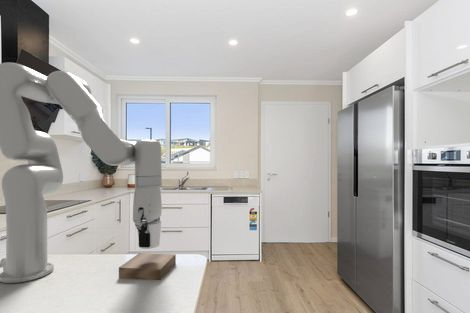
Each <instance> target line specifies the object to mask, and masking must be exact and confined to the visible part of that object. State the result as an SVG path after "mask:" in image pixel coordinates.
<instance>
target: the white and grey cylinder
mask: <svg viewBox="0 0 470 313" xmlns="http://www.w3.org/2000/svg"><path fill="white" fill-rule="evenodd" d="M142 222H146V220H142ZM142 225H144V226H145V228H146V224H142ZM161 228H162V221H161V219H160V220H154V221H152V222H150V224H149V233H150V247H139V248H140V249H143V250H146V249H148V250H149V249H155V248H158V247H159V246H160V244H161V243H160V242H161V231H162V230H161ZM137 236H138V237H137V238H139V233H138V232H137Z"/></svg>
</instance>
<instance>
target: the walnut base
mask: <svg viewBox="0 0 470 313" xmlns="http://www.w3.org/2000/svg"><path fill="white" fill-rule="evenodd" d="M176 256H177V255H176V254H175V253H172V254H171V253H147V252H145V253H144V252H143V253H142V252H141V253H140V252H138V253H137V254H136V255H135V256H133V257H132V258H130V259H129V260H127V261H126V262H124V263H123V264H122V265H120V266H119V267H118V279H121V280H137V281H138V280H140V281H141V280H142V281H162V280H163V279H164V277H165V276H166V275H168V273H169V272H170V271H171V270H172V269H173V267H175V265H176V264H177V263H176V262H177V261H176ZM171 268H172V269H171ZM170 269H171V270H170ZM169 270H170V271H169Z"/></svg>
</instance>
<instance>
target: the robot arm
mask: <svg viewBox="0 0 470 313" xmlns="http://www.w3.org/2000/svg"><path fill="white" fill-rule="evenodd" d="M22 97H23V98H27V99H29V100H31V101H36V102H41V103H48V104H53V105H54V104H55V105H59V106H60V107H61V108H62V109H63V111H65V113H66V114H67V115H68V117H70V119H71V120H72V121H73V122H74V123H75V124H76V126H77V129H78V132H79V133H80V136H81V138H82V139H83V141H84V143H85V144H86V145H87V146H88V148H90V150H91V151H92V152H93V154H95V155H96V156H97V158H98V159H100V160H101V162H103V163H104V164H106V165H109V166H115V167H116V166H121V167H122V166H131V165H134V186H135V189H134V193H133V201H132V202H133V206H132V221H133V223H134V226H135V227H136V229H137V234H138V233H139V237H138V247H139V248H140V247H150V233H149V224H150V222H152V221H154V220H160V221H161V216H162V211H163V210H162V207H163V206H162V194H161V193H162V191H161V188H162V184H163V183H162V182H163V179H162V176H163V175H162V172H163V171H162V143H161V142H160V141H159V140H154V139H142V140H137V141H130V140H125V139H121V138H119V137H118V135H117V134H116V133H115V132H114V131H113V130H112V129H111V127H110V126H109V124H108V123H107V122H106V121H105V119H104V117H103V113H104V109H103V106H102V105H100V103H99V102H98V101H97V100H96V99H95V98H94V96H92V90H91V88H90V86H89V85H88V83H87V82H86V81H85V80H83V79H81V78H80V77H77V76H76V75H74V74H72V73H71V72H68V71H66V70H55V71H53V72H51V73H49V74H48V75H47V76H46V75H45V74H42V73H41V72H38V71H36V70H35V69H32V68H30V67H28V66H25V65H23V64H21V63H16V62H2V63H0V152H1V153H2V155H3V156H4V157H5V158H6V159H9V160H11V161H24V162H25V161H26V162H27V163H25V164H23V163H22V164H18V165H15V166H13V167H10V168H9V169H7V171H5V173H4V174H3V177H2V178H1V188H2V189H1V190H2V193H3V197H4V202H5V223H6V224H5V226H6V227H5V228H6V230H5V233H6V234H5V235H6V236H5V238H6V239H5V241H6V242H5V244H6V245H5V254H6V255H5V257H3V258H1V259H0V268H2V272H1V273H0V283H4V284H17V283H18V284H20V283H23V282H29V281H34V280H37V279H40V278H43V277H44V276H47V275H49V274H51V273H52V272H53V271H54V267H55V266H54V264H53V263H52V262H48V208H47V203H46V200H45V197H44V195H48V194H52V193H54V192H56V191H58V190H59V189H60V188H61V186H62V185H63V182H64V173H63V172H64V171H63V166H62V164H61V159H60V156H59V155H60V154H59V152H58V148H57V144H56V142H55V140H54V139H53V138H52V136H50V135H49V134H48V133H47V132H44V131H40V130H37V129H35V128H34V125H33V122H32V117H31V114H30V111H29V109H28V107H27V105H26V103H25V102H24V101H23V98H22ZM145 220H146V222H142V221H145ZM142 224H146V228H145V226H144V225H142Z"/></svg>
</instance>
